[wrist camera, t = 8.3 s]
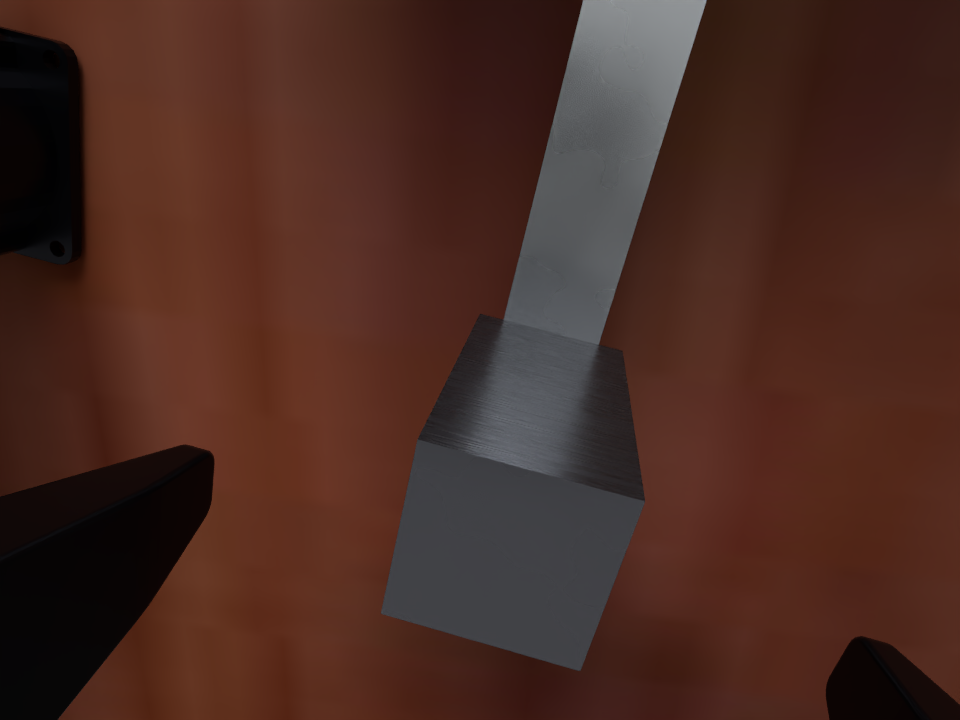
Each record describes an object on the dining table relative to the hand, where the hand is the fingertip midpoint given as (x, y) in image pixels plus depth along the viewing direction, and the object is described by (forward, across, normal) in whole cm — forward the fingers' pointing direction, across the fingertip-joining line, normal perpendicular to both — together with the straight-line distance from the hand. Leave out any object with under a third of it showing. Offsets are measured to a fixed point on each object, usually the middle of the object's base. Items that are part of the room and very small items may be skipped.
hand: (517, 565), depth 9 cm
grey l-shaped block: (+7, 0, -7) cm, 10 cm away
